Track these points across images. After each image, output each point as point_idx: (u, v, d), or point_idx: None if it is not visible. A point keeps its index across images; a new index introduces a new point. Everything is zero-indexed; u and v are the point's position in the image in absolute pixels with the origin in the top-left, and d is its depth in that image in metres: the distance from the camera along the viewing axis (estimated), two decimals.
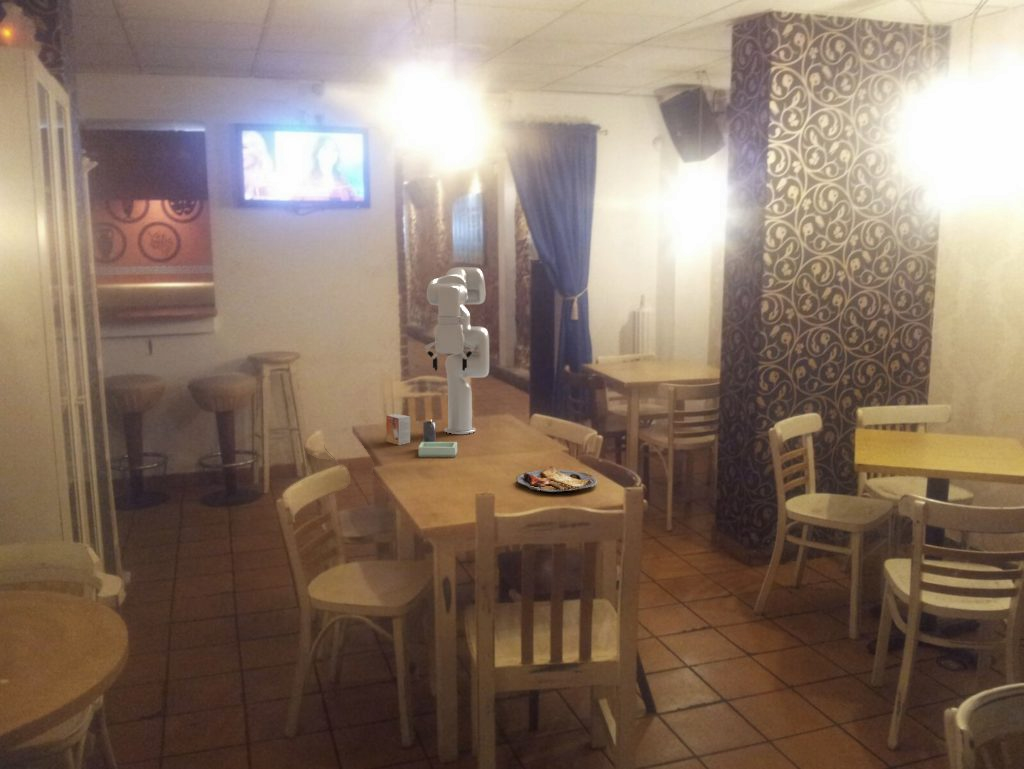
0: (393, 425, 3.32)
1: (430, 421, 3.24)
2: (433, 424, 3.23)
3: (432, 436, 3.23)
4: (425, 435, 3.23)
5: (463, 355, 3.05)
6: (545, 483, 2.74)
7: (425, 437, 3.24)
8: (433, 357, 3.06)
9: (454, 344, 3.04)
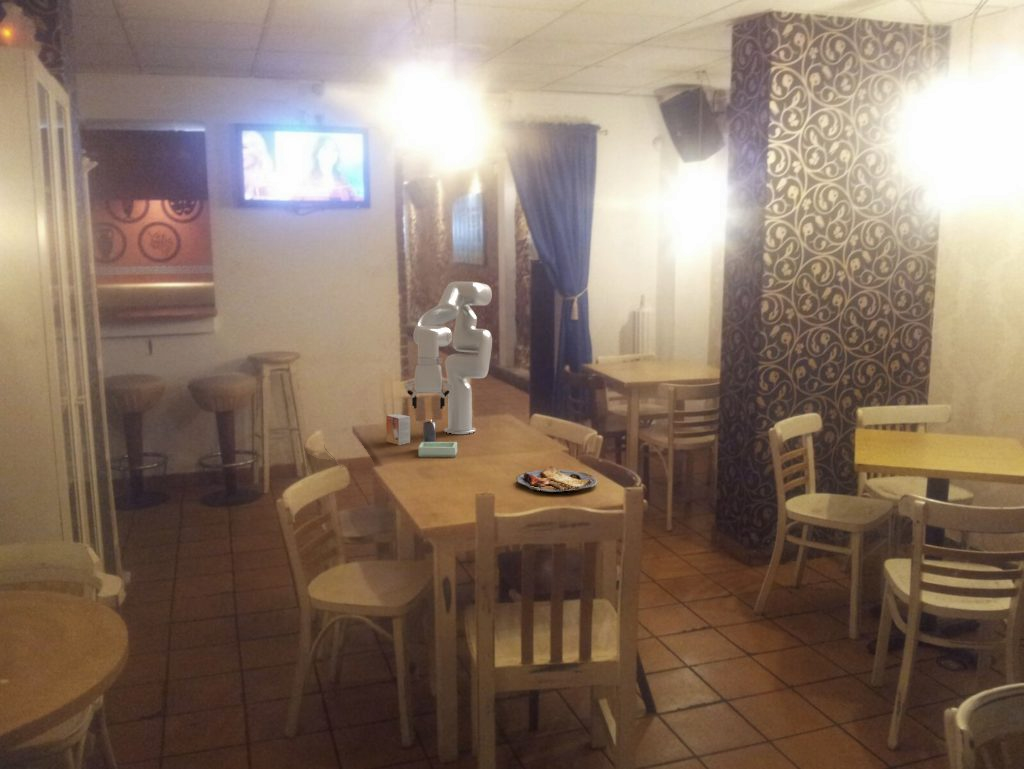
0: (393, 425, 3.32)
1: (430, 421, 3.24)
2: (433, 424, 3.23)
3: (432, 436, 3.23)
4: (425, 435, 3.23)
5: (441, 394, 3.21)
6: (545, 483, 2.74)
7: (425, 437, 3.24)
8: (412, 396, 3.21)
9: (432, 384, 3.20)
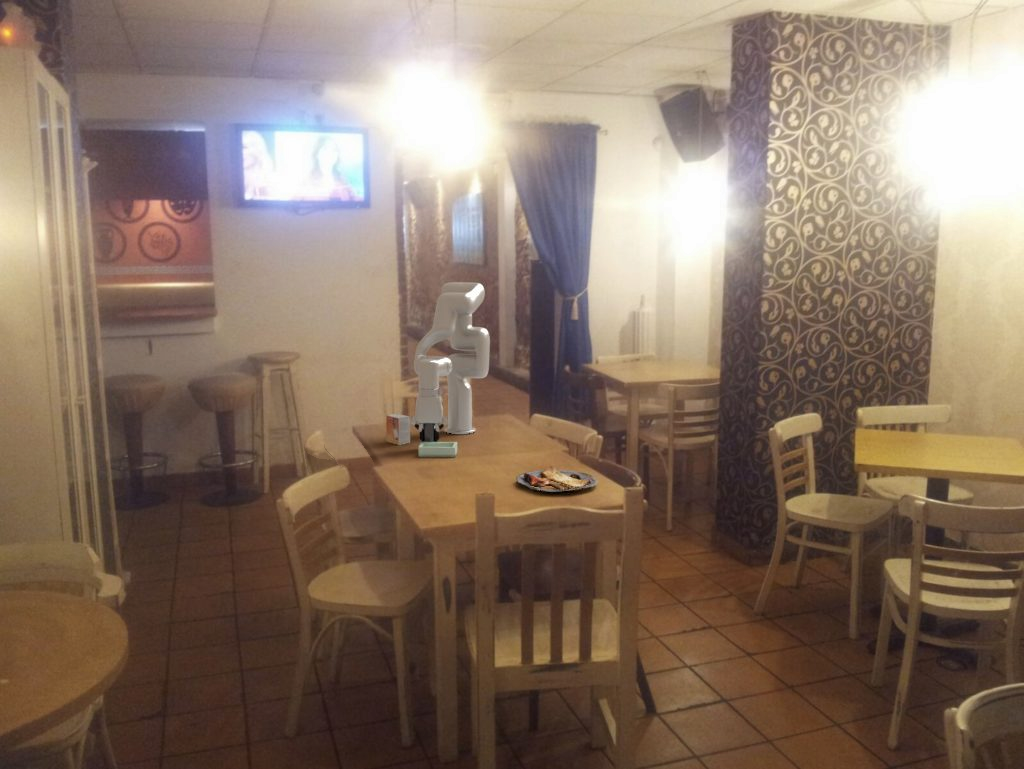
0: (393, 425, 3.32)
1: None
2: (433, 424, 3.23)
3: (432, 436, 3.23)
4: (425, 435, 3.23)
5: (437, 427, 3.23)
6: (545, 483, 2.74)
7: (425, 437, 3.24)
8: (420, 430, 3.24)
9: (433, 415, 3.22)
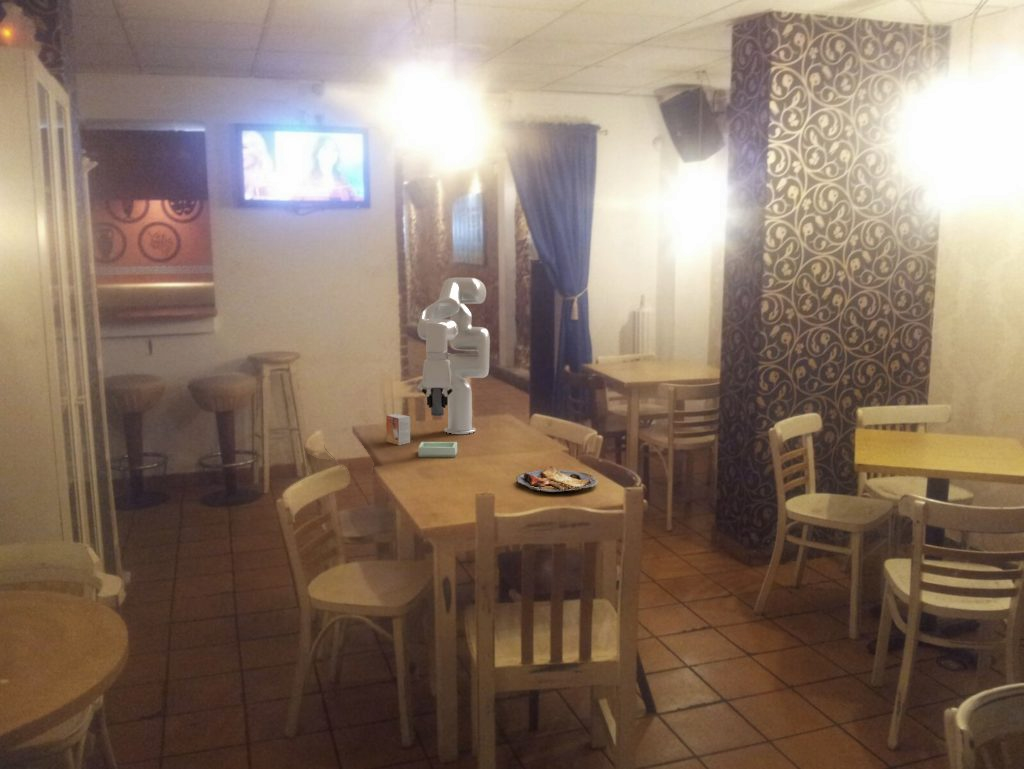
0: (393, 425, 3.32)
1: None
2: (441, 389, 3.12)
3: (440, 402, 3.12)
4: (432, 400, 3.12)
5: (445, 392, 3.12)
6: (545, 483, 2.74)
7: (433, 402, 3.12)
8: (427, 395, 3.13)
9: (441, 379, 3.11)
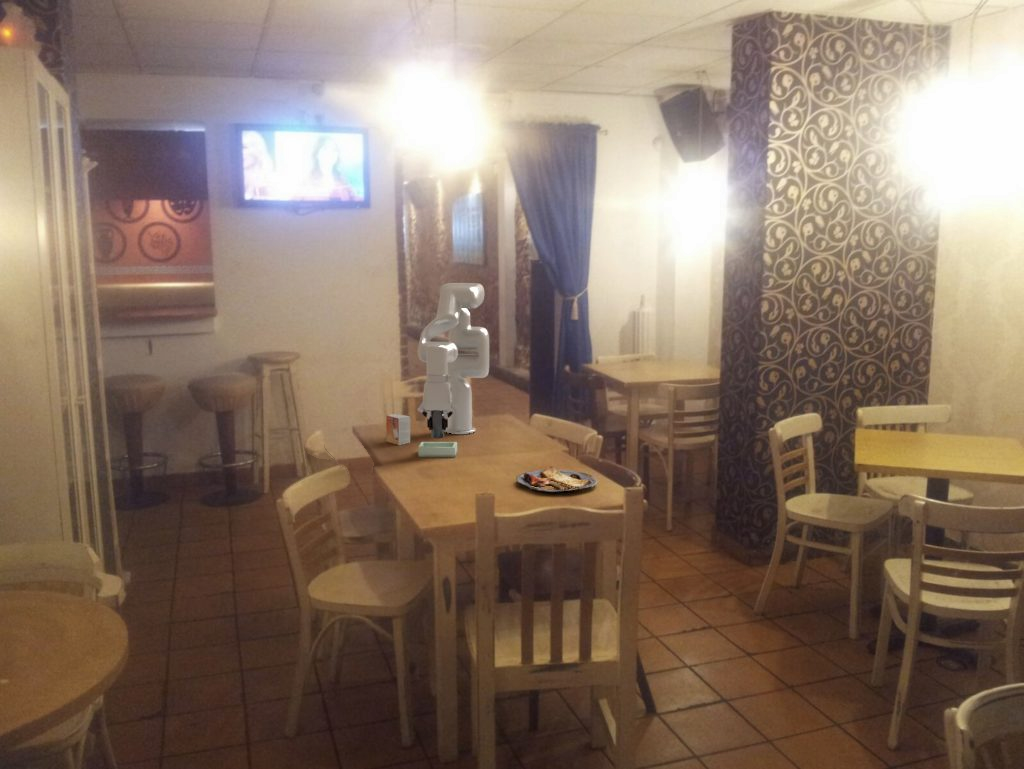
0: (393, 425, 3.32)
1: None
2: (441, 411, 3.13)
3: (440, 424, 3.13)
4: (433, 423, 3.13)
5: (445, 415, 3.13)
6: (545, 483, 2.74)
7: (433, 425, 3.13)
8: (427, 417, 3.14)
9: (441, 402, 3.12)
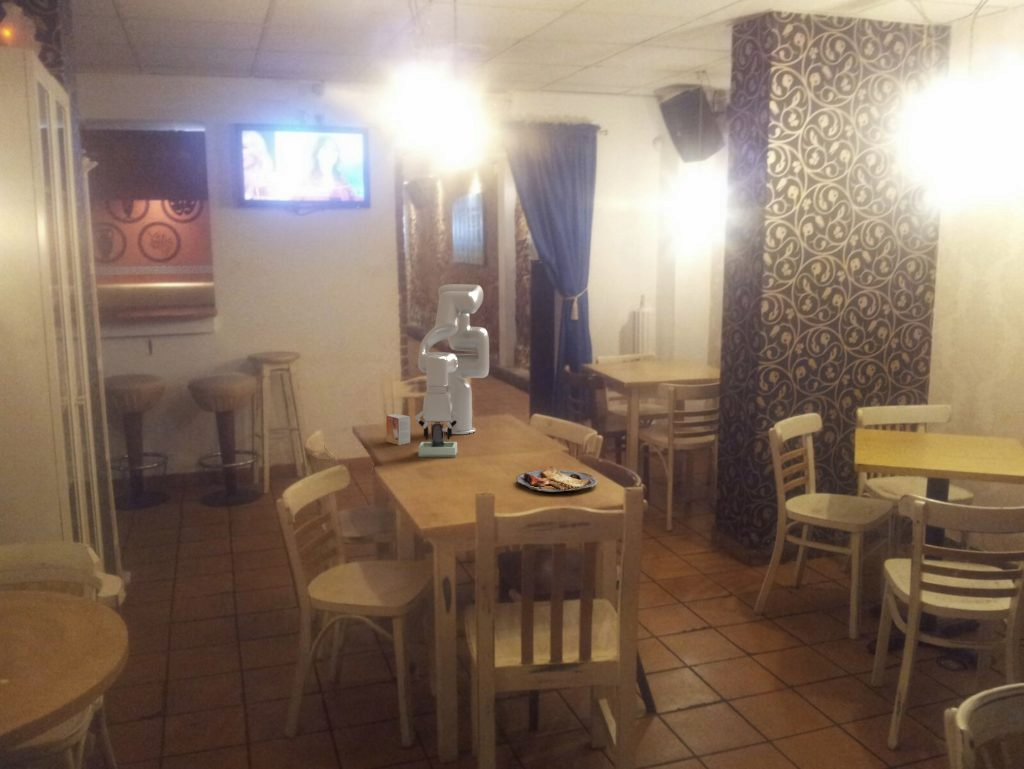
0: (393, 425, 3.32)
1: (438, 423, 3.15)
2: (441, 426, 3.14)
3: (440, 439, 3.15)
4: (433, 437, 3.15)
5: (448, 424, 3.14)
6: (545, 483, 2.74)
7: (433, 440, 3.15)
8: (424, 426, 3.14)
9: (442, 412, 3.12)
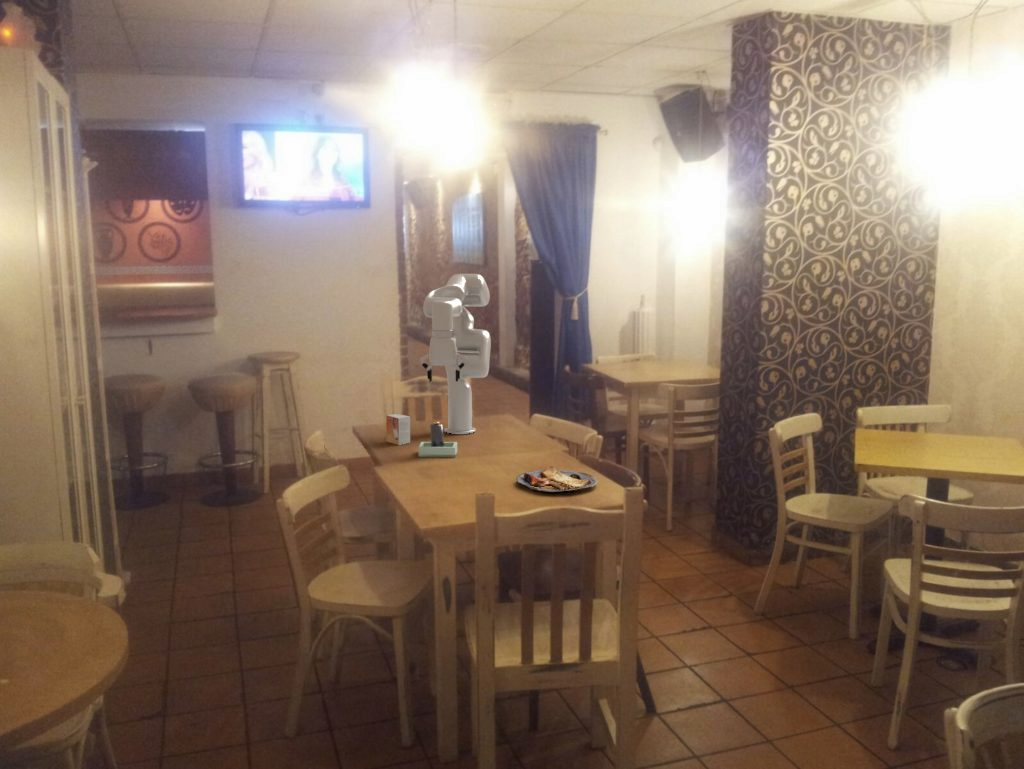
0: (393, 425, 3.32)
1: (437, 423, 3.15)
2: (441, 426, 3.14)
3: (440, 439, 3.15)
4: (432, 438, 3.15)
5: (456, 367, 3.19)
6: (545, 483, 2.74)
7: (433, 440, 3.15)
8: (427, 369, 3.20)
9: (447, 357, 3.18)
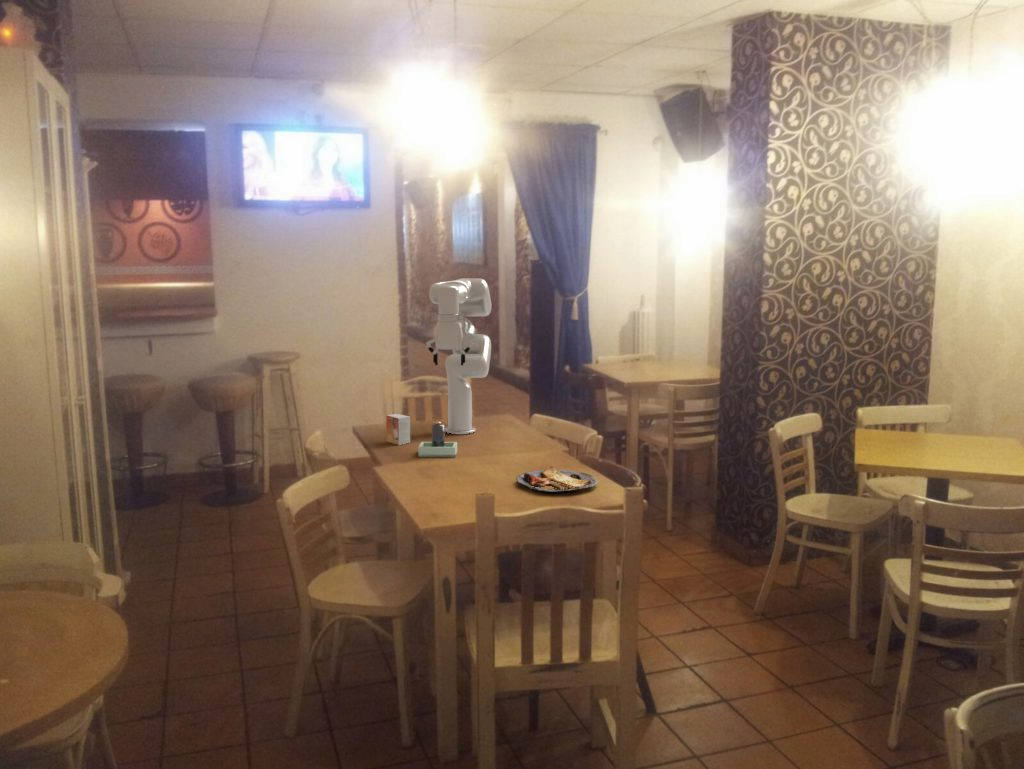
0: (393, 425, 3.32)
1: (439, 423, 3.15)
2: (442, 426, 3.14)
3: (441, 439, 3.15)
4: (433, 437, 3.14)
5: (462, 351, 3.26)
6: (545, 483, 2.74)
7: (434, 440, 3.15)
8: (433, 353, 3.26)
9: (453, 340, 3.25)
